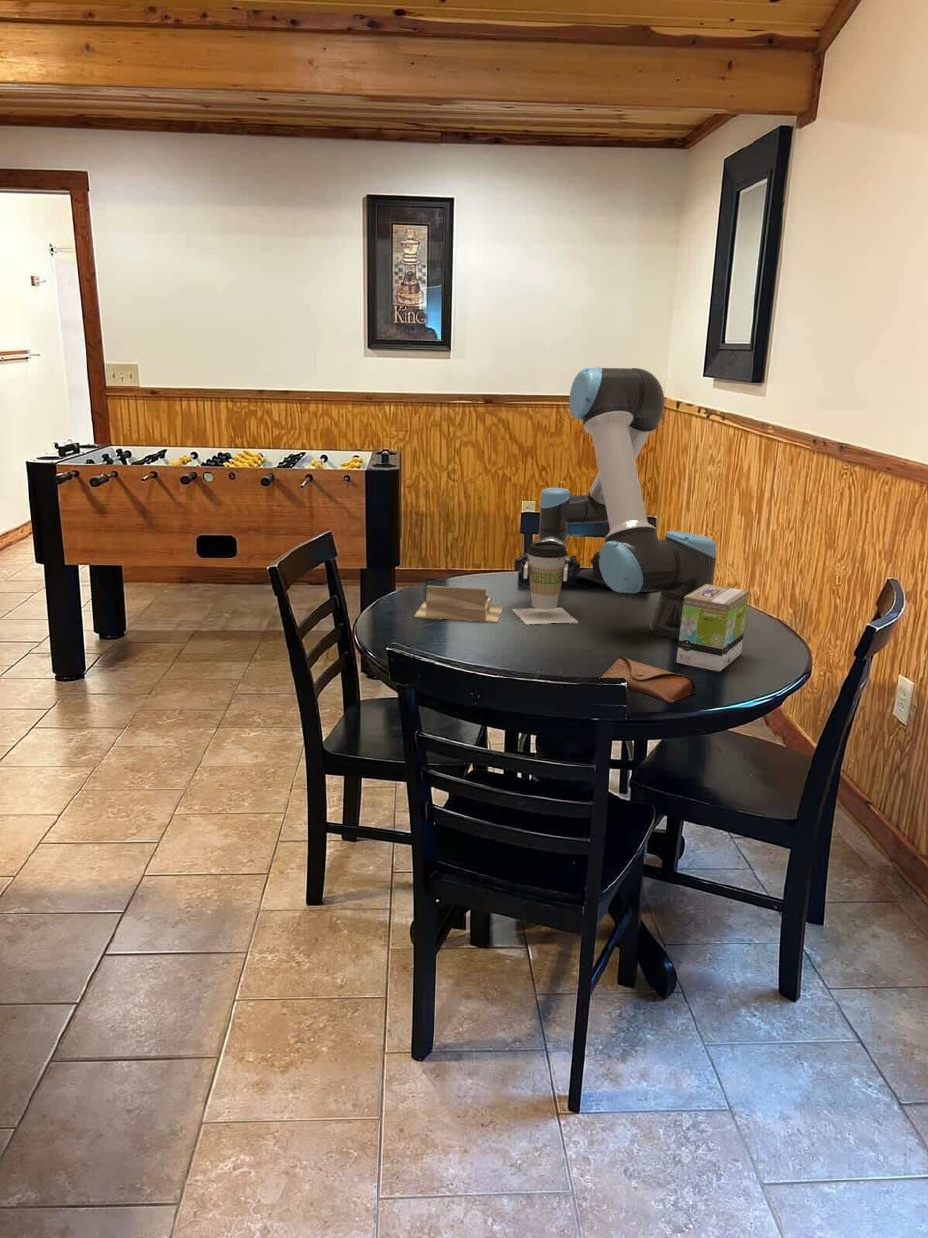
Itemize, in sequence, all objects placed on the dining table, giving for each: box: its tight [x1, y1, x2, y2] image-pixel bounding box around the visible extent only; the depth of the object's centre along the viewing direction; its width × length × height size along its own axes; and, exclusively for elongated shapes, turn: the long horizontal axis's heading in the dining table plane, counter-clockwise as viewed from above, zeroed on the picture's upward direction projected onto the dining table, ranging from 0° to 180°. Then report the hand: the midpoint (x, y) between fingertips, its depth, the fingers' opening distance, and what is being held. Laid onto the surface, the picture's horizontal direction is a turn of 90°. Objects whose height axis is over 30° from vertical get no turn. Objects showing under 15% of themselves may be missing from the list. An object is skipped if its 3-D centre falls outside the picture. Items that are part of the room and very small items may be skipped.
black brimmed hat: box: [575, 551, 610, 588], centre depth 259 cm, size 25×19×8 cm
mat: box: [511, 607, 579, 626], centre depth 226 cm, size 13×13×1 cm
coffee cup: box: [526, 541, 569, 609], centre depth 223 cm, size 10×10×15 cm
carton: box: [413, 585, 504, 624], centre depth 228 cm, size 17×20×8 cm
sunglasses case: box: [600, 655, 696, 703], centre depth 180 cm, size 18×7×7 cm
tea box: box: [675, 584, 750, 672], centre depth 195 cm, size 15×10×15 cm
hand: (545, 574), depth 219 cm, fingers closed on coffee cup, 9 cm apart
